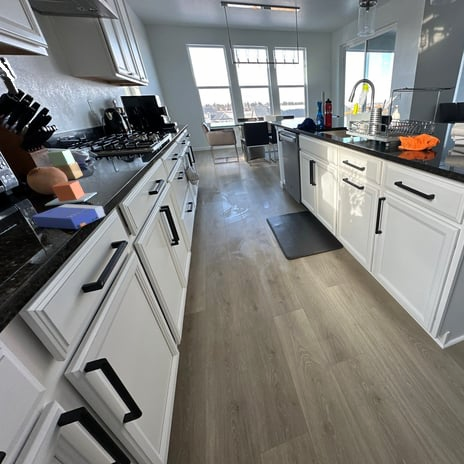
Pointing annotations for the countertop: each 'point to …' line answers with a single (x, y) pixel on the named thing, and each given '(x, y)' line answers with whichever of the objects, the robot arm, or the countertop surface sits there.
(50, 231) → the countertop surface
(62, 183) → the top cube
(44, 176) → the onion
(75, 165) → the bottom block
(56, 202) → the pad
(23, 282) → the countertop surface
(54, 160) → the middle block
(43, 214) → the walkman
